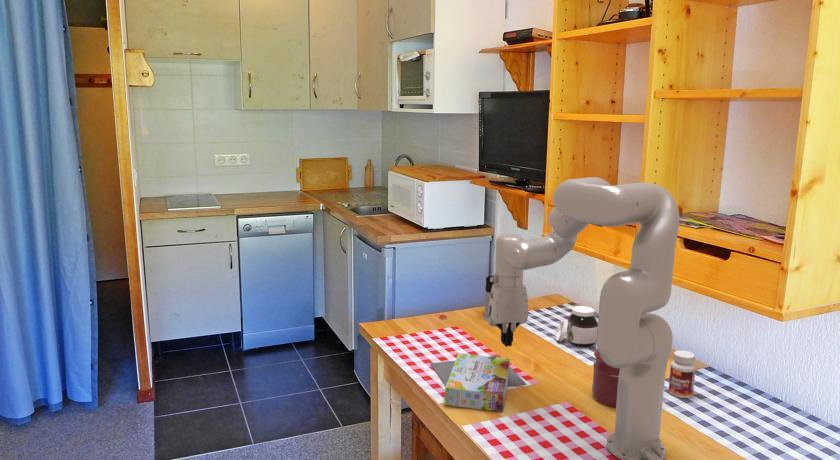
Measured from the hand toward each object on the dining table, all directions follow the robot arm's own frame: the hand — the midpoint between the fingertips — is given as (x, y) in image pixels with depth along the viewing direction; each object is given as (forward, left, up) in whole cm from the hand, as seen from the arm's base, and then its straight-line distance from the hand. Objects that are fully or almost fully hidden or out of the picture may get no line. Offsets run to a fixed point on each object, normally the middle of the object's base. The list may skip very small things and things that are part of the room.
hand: (506, 344), depth 174 cm
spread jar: (+22, -33, -11) cm, 41 cm away
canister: (-16, -25, -11) cm, 32 cm away
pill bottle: (-18, -43, -11) cm, 48 cm away
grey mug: (+48, -18, -11) cm, 52 cm away
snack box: (-7, +2, -8) cm, 11 cm away
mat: (+7, +6, -11) cm, 14 cm away
